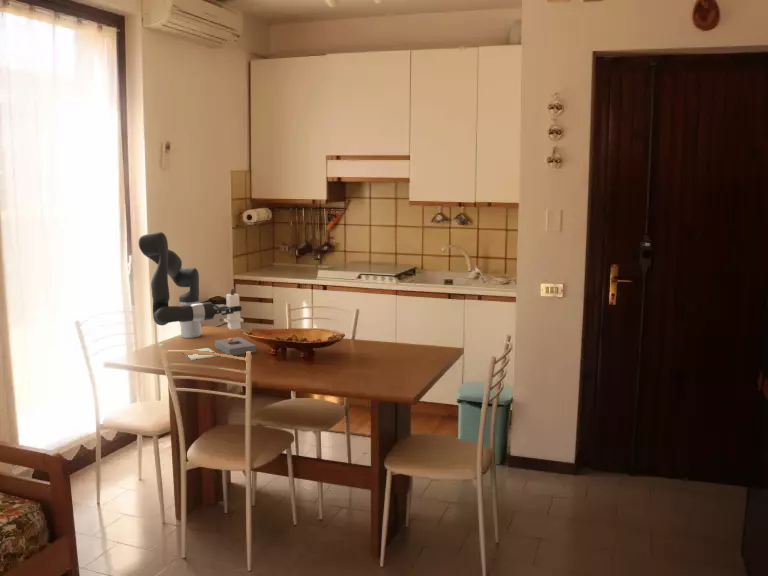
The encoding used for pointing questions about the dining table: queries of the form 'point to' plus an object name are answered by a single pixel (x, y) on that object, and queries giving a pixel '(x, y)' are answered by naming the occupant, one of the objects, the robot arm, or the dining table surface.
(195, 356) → the mat
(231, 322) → the plug
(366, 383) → the dining table surface
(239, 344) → the grey slotted block
